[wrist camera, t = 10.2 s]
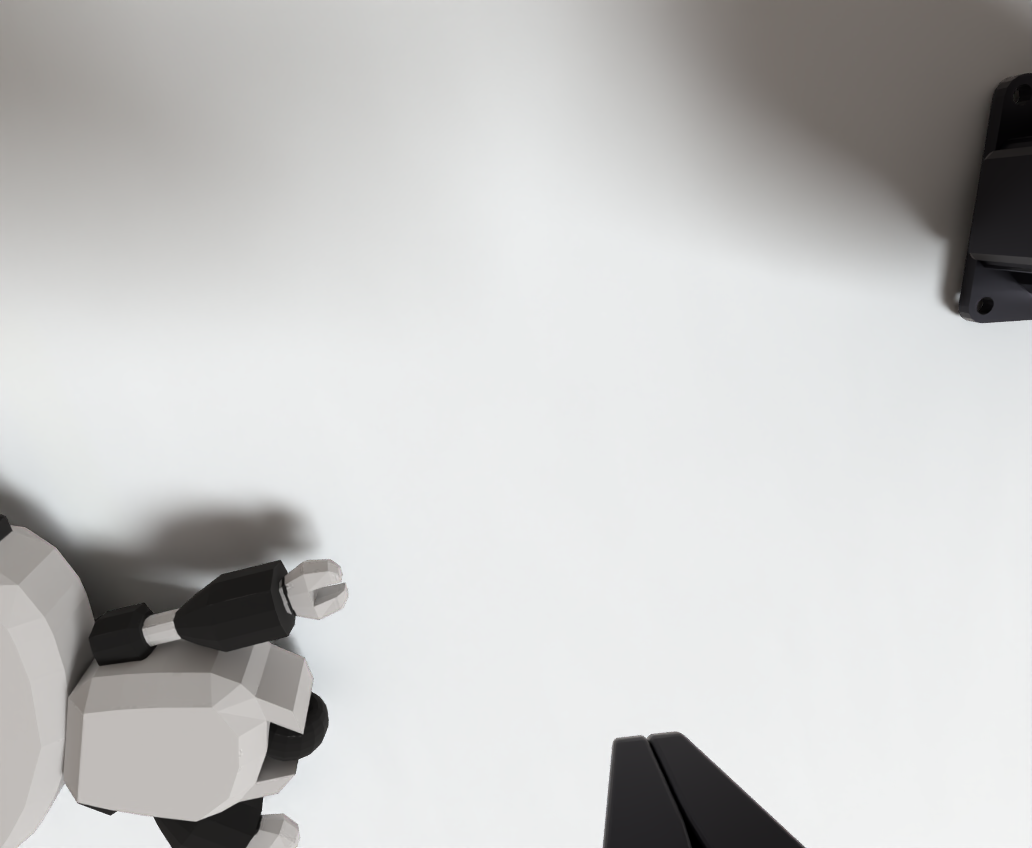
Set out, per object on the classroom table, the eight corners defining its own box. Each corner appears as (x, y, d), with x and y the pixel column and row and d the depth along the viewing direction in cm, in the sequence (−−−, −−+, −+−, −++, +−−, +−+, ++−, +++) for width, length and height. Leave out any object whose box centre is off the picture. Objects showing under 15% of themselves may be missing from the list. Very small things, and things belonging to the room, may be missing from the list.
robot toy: (369, 506, 21) (-199, 420, 17) (360, 584, 16) (-395, 491, 13) (309, 801, 24) (-175, 778, 21) (289, 929, 20) (-324, 927, 16)
